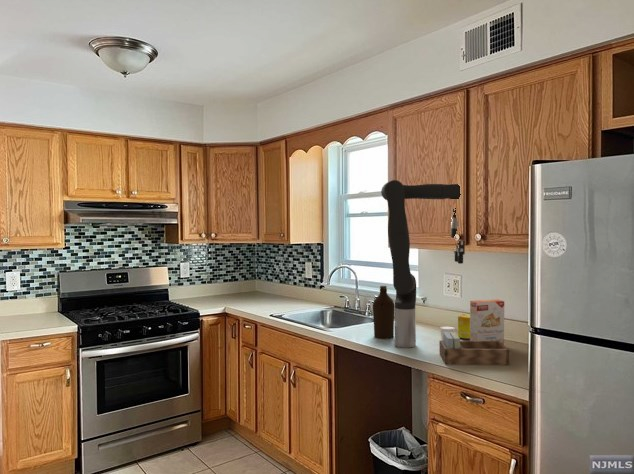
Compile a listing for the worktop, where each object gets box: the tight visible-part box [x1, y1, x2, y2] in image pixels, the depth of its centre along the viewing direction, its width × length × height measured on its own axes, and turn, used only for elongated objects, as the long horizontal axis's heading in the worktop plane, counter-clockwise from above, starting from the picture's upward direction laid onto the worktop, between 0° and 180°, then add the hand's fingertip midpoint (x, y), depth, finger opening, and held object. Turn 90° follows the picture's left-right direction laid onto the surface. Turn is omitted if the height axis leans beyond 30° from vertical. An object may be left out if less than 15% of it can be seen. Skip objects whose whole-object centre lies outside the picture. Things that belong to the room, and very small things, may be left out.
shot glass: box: [439, 325, 456, 341], centre depth 229 cm, size 7×7×7 cm
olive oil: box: [372, 285, 395, 340], centre depth 242 cm, size 11×11×25 cm
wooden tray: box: [439, 340, 510, 366], centre depth 201 cm, size 24×14×6 cm, turn 85°
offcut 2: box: [450, 331, 461, 349], centre depth 201 cm, size 2×11×10 cm, turn 175°
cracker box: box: [469, 298, 505, 346], centre depth 220 cm, size 14×6×21 cm, turn 105°
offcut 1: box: [443, 332, 453, 349], centre depth 202 cm, size 2×11×10 cm, turn 175°
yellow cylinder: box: [457, 314, 470, 341], centre depth 236 cm, size 6×6×11 cm
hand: (458, 262), depth 228 cm, fingers open, 8 cm apart
